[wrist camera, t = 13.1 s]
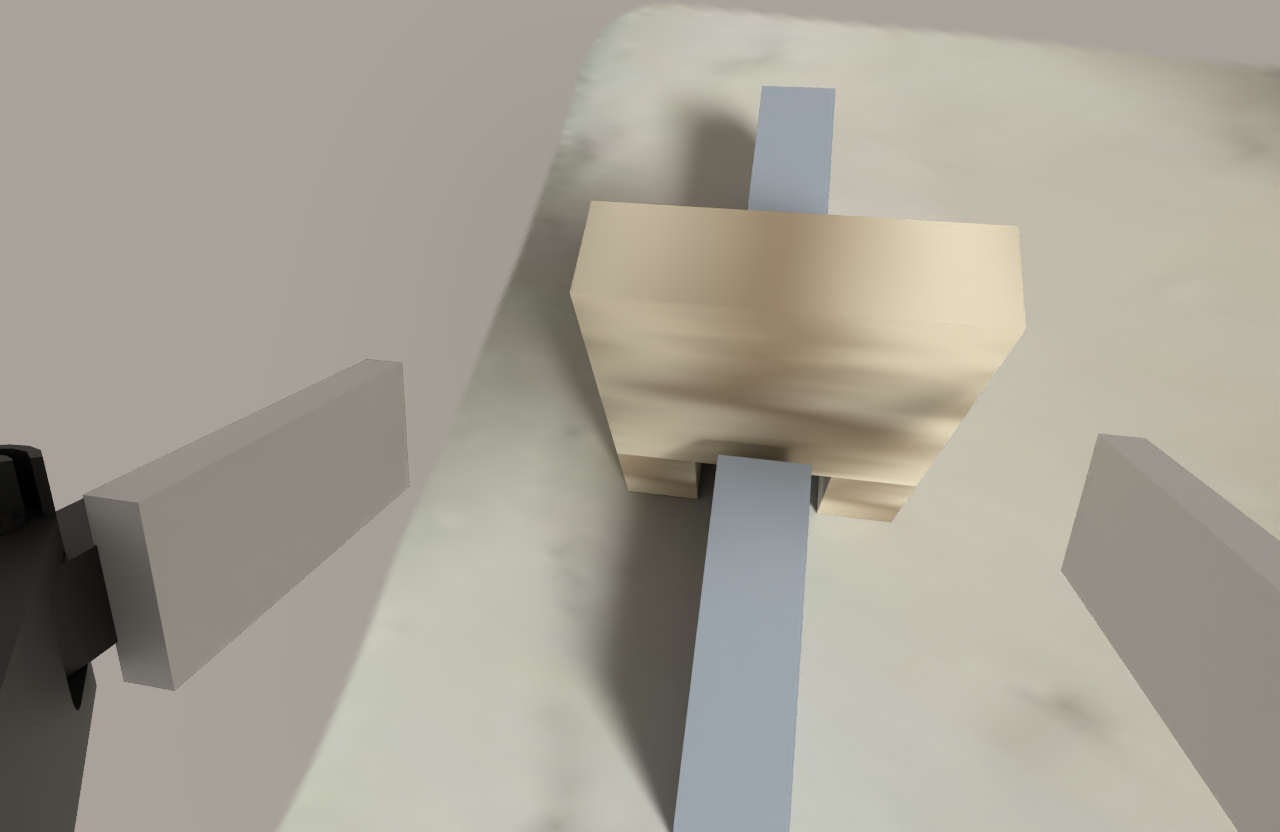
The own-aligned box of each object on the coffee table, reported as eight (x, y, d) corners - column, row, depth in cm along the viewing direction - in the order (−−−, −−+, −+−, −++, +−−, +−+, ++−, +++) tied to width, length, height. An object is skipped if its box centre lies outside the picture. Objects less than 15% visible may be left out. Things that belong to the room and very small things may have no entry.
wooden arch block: (892, 453, 26) (1018, 226, 15) (891, 521, 25) (1025, 328, 14) (639, 427, 27) (591, 200, 17) (628, 490, 26) (569, 293, 16)
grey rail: (814, 207, 31) (835, 88, 26) (766, 869, 21) (785, 902, 16) (753, 204, 31) (762, 86, 26) (678, 853, 21) (667, 879, 16)
